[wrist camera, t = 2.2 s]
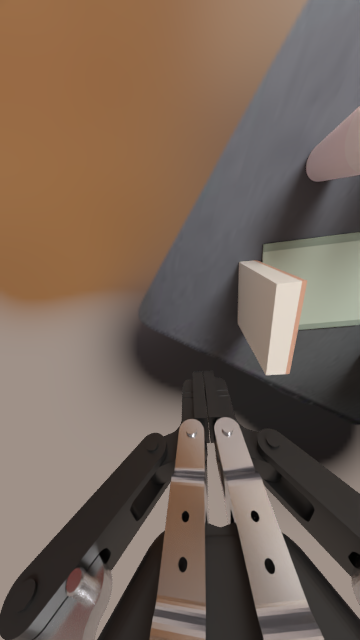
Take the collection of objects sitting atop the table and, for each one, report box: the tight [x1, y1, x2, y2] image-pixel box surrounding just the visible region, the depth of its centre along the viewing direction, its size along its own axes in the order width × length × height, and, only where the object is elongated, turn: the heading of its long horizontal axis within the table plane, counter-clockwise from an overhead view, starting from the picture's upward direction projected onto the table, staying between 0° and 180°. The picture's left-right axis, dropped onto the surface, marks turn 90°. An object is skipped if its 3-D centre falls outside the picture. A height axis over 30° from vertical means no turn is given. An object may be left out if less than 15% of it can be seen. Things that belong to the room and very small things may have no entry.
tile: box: [238, 260, 307, 375], centre depth 22 cm, size 2×10×12 cm, turn 7°
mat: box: [262, 232, 360, 330], centre depth 26 cm, size 16×14×1 cm
